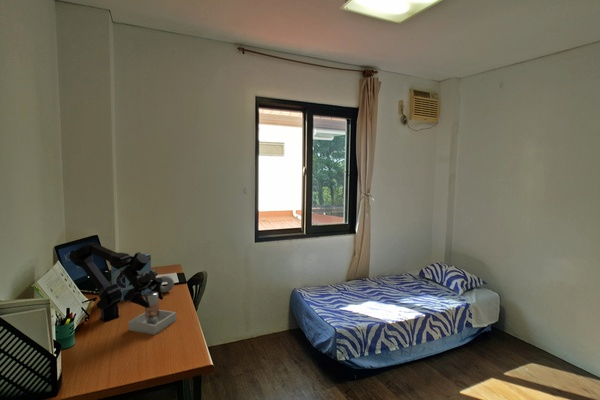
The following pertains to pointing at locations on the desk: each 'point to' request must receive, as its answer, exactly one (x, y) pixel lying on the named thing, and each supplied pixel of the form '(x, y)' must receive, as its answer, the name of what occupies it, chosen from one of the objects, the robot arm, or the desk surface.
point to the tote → (141, 326)
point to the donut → (170, 284)
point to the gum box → (124, 282)
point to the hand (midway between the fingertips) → (155, 303)
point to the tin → (152, 308)
